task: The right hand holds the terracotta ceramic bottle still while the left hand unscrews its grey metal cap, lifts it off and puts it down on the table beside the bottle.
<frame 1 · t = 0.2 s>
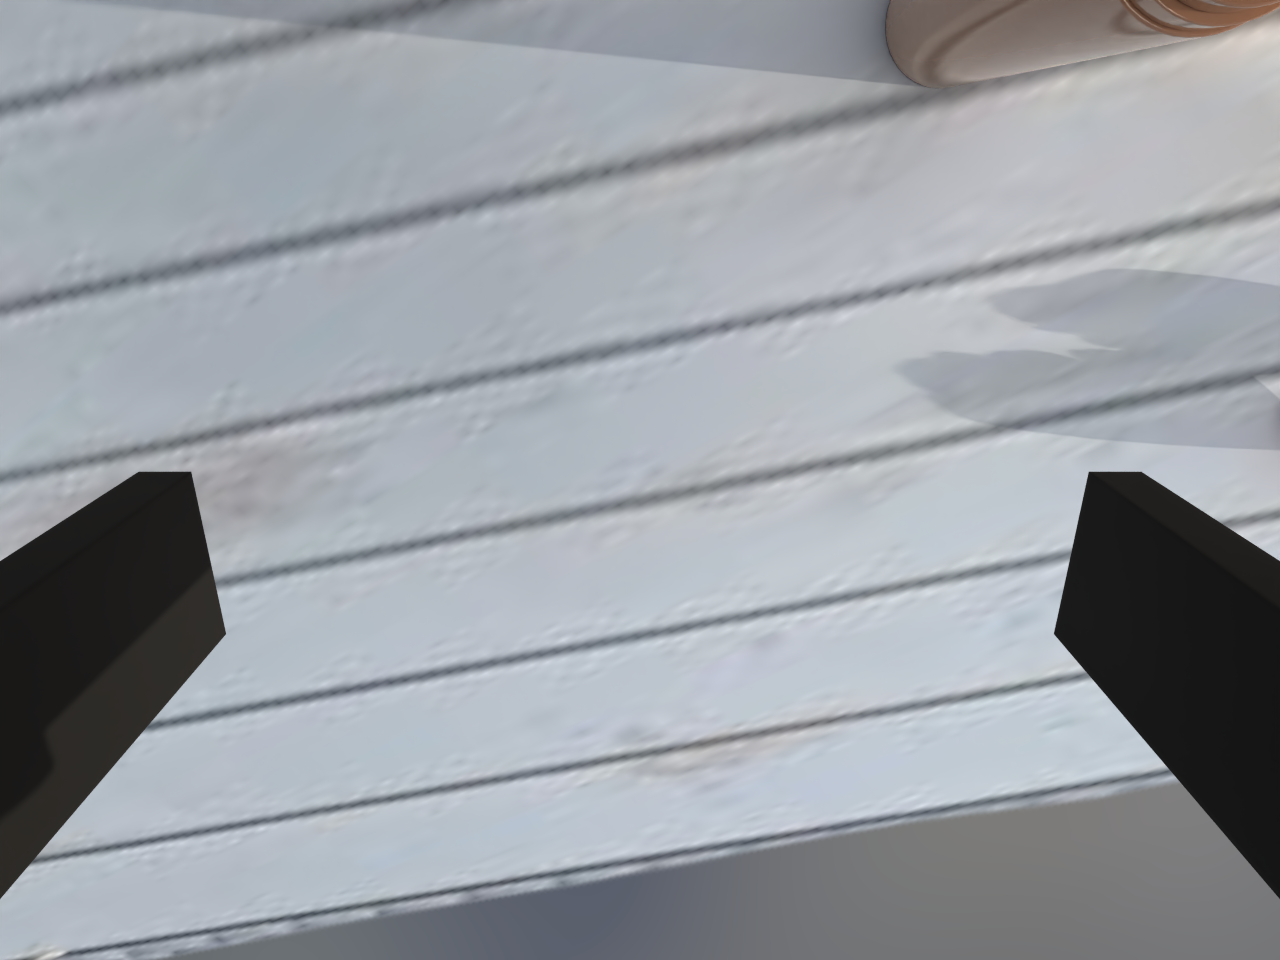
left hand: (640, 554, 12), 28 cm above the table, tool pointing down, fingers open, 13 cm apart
bottle: (947, 20, 34), on the table
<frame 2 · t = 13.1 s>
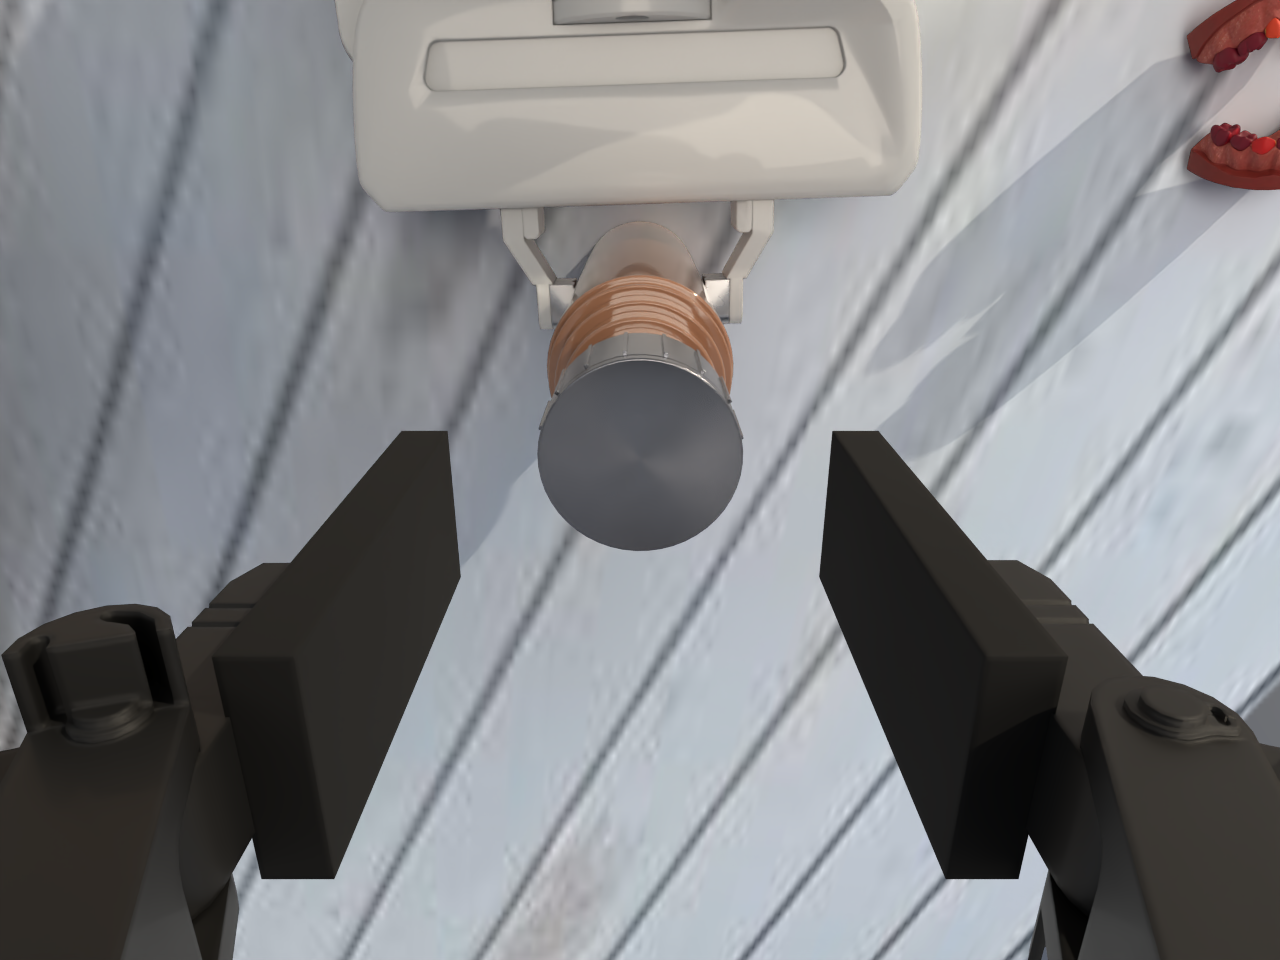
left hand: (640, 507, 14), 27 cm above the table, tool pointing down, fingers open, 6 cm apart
right hand: (641, 324, 33), fingers closed on bottle, 5 cm apart
bottle: (640, 278, 39), on the table, touching right hand
cap: (640, 454, 17), point 24 cm above the table, screwed on, not yet turned
dental model: (1248, 87, 36), on the table
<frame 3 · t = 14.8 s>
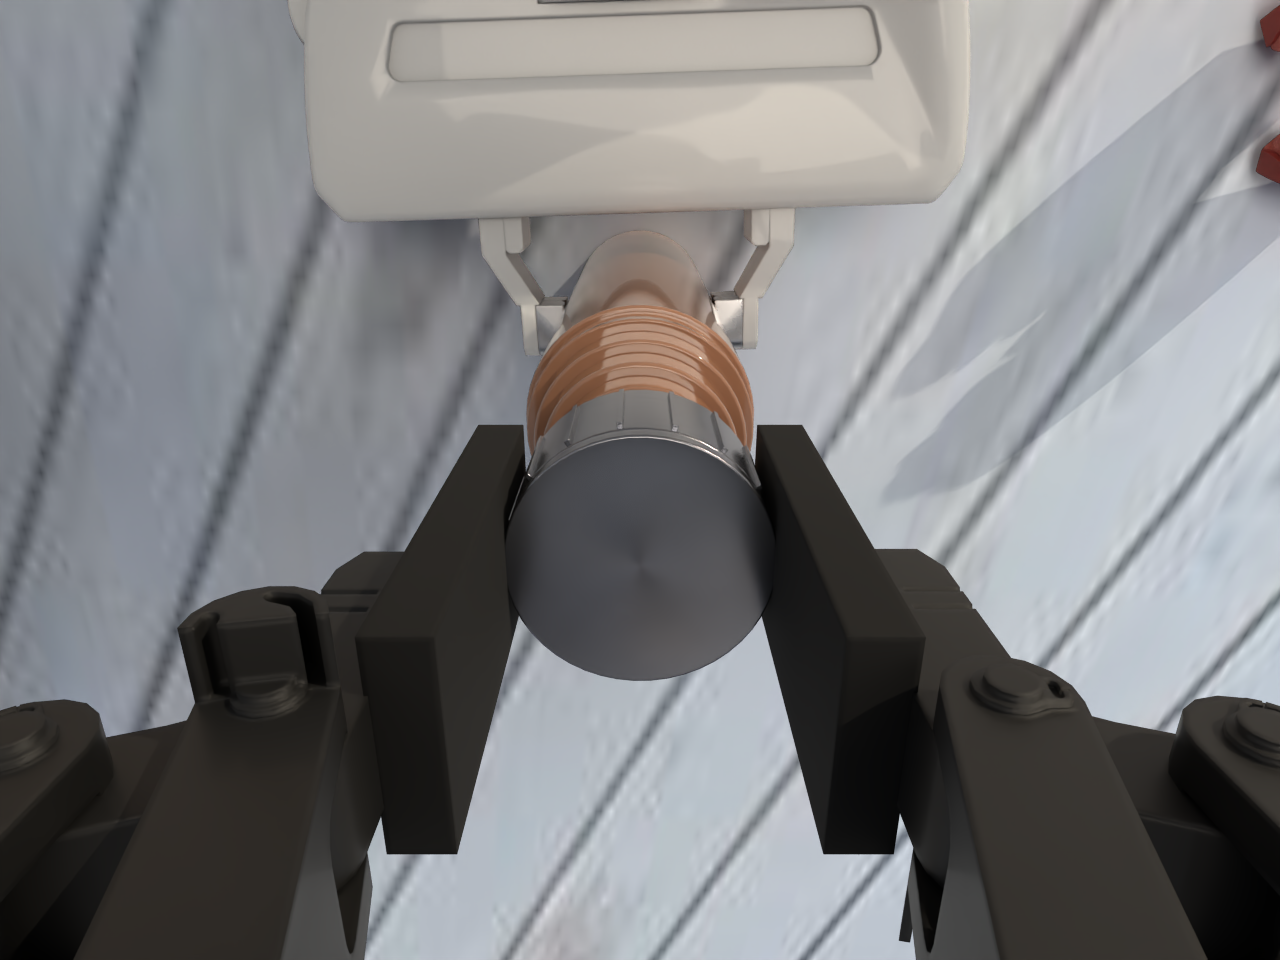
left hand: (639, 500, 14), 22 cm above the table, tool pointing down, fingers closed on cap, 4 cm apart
right hand: (642, 349, 29), fingers closed on bottle, 5 cm apart
bottle: (639, 293, 35), on the table, touching right hand
cap: (640, 556, 12), point 24 cm above the table, screwed on, not yet turned, touching left hand
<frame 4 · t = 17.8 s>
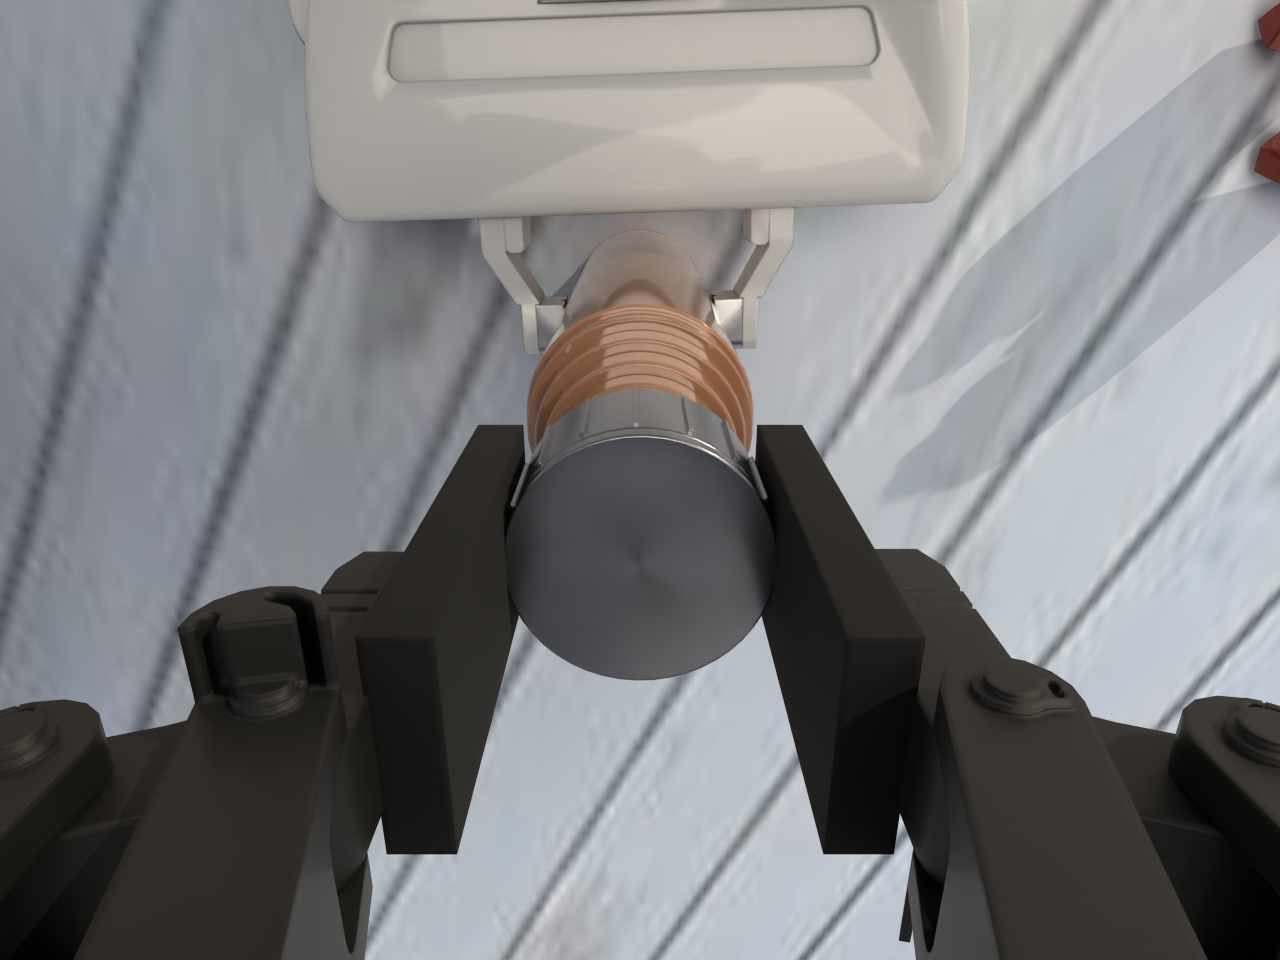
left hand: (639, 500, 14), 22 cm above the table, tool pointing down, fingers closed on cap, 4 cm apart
right hand: (642, 348, 29), fingers closed on bottle, 5 cm apart
bottle: (639, 293, 35), on the table, touching right hand
cap: (640, 556, 12), point 24 cm above the table, turned 83° so far, risen 0.1 cm, still on its thread, touching left hand
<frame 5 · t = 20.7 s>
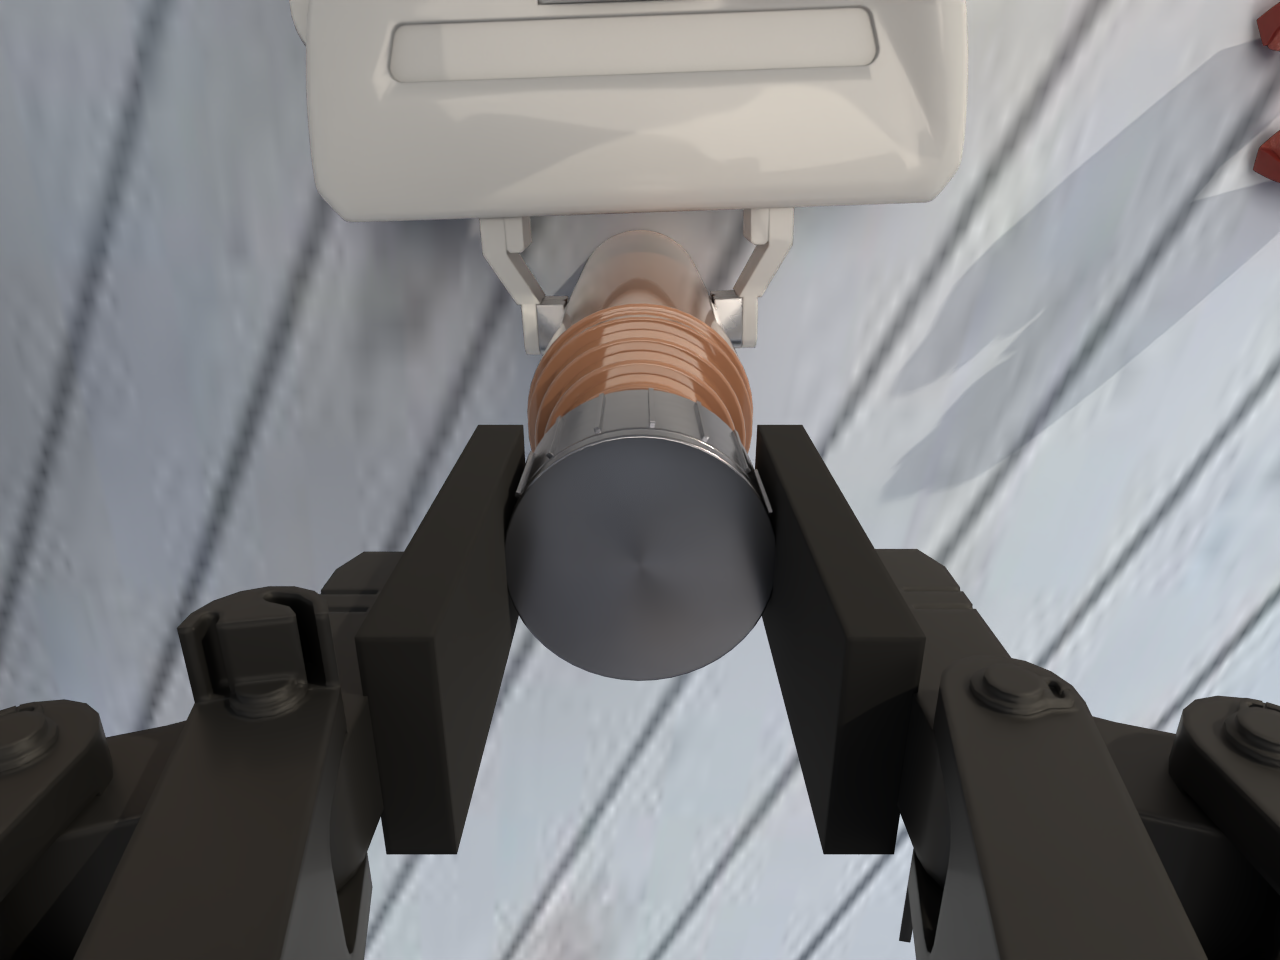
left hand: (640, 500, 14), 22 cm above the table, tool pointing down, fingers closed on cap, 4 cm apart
right hand: (642, 348, 29), fingers closed on bottle, 5 cm apart
bottle: (639, 292, 35), on the table, touching right hand
cap: (640, 556, 12), point 24 cm above the table, turned 167° so far, risen 0.2 cm, still on its thread, touching left hand
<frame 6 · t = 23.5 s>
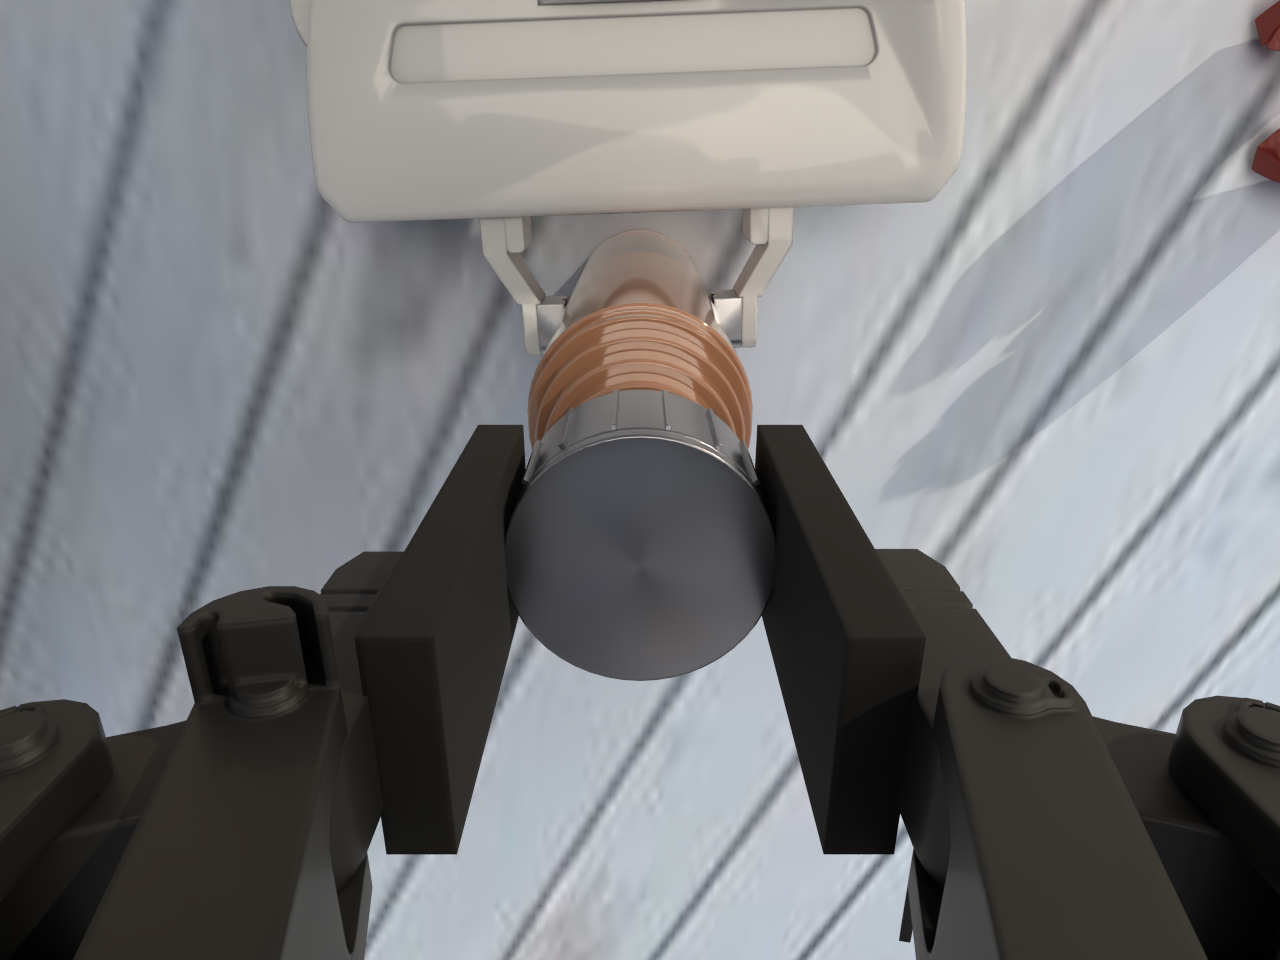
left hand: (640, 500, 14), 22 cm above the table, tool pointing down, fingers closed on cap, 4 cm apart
right hand: (642, 347, 29), fingers closed on bottle, 5 cm apart
bottle: (640, 292, 35), on the table, touching right hand
cap: (640, 556, 12), point 24 cm above the table, turned 250° so far, risen 0.3 cm, still on its thread, touching left hand
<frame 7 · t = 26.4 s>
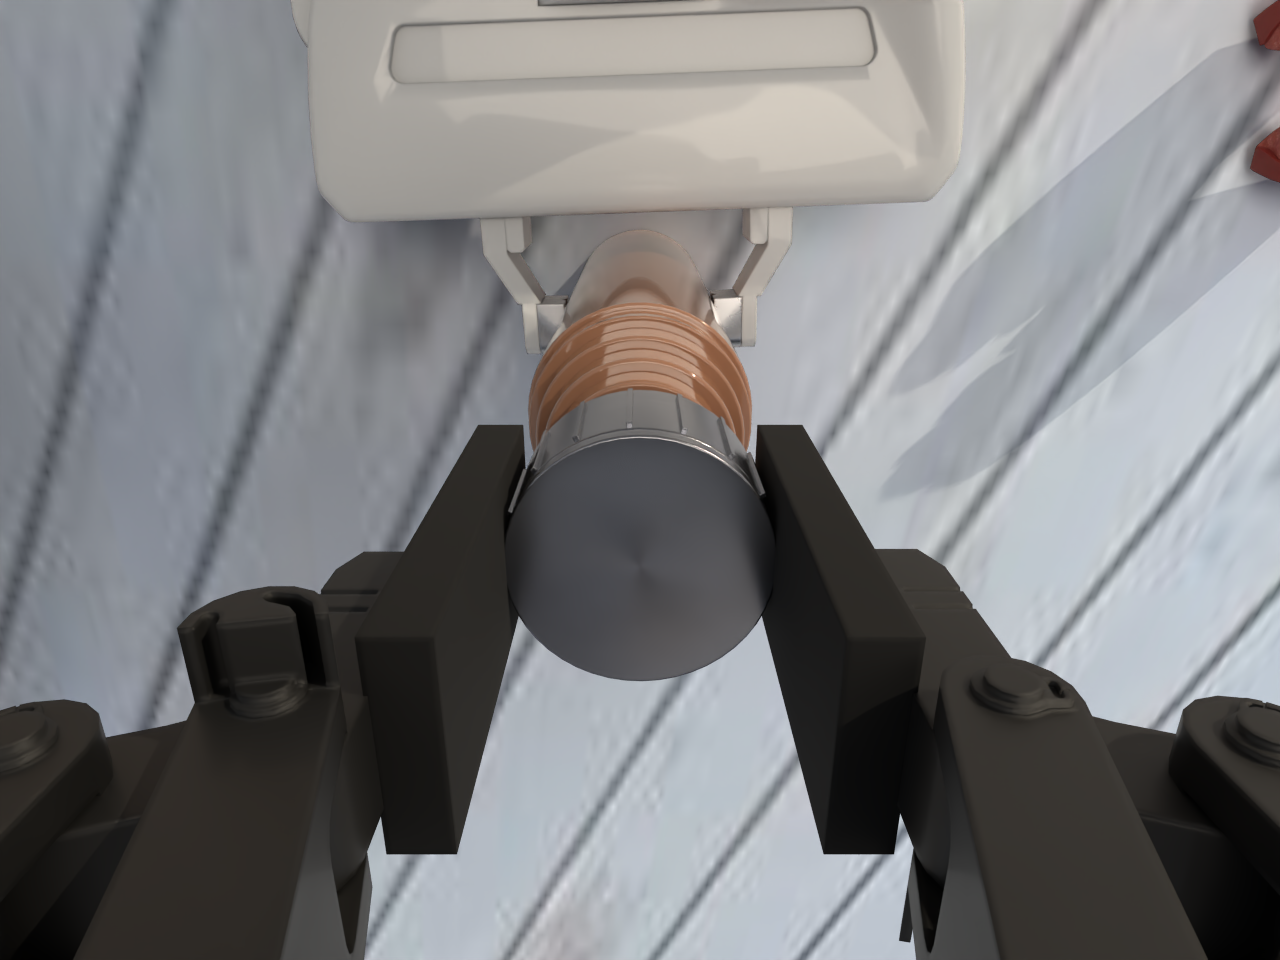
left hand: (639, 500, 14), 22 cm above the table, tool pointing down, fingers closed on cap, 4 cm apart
right hand: (642, 347, 29), fingers closed on bottle, 5 cm apart
bottle: (639, 292, 35), on the table, touching right hand
cap: (640, 557, 12), point 25 cm above the table, turned 333° so far, risen 0.3 cm, still on its thread, touching left hand
when the left hand's fingers open (1 cm above the table, at t = 34.9 s): cap drops 1 cm, point 2 cm above the table.
when the right hand's fingers open (7 cm above the table, at t = 36.3 s): bottle stays where it is, on the table.
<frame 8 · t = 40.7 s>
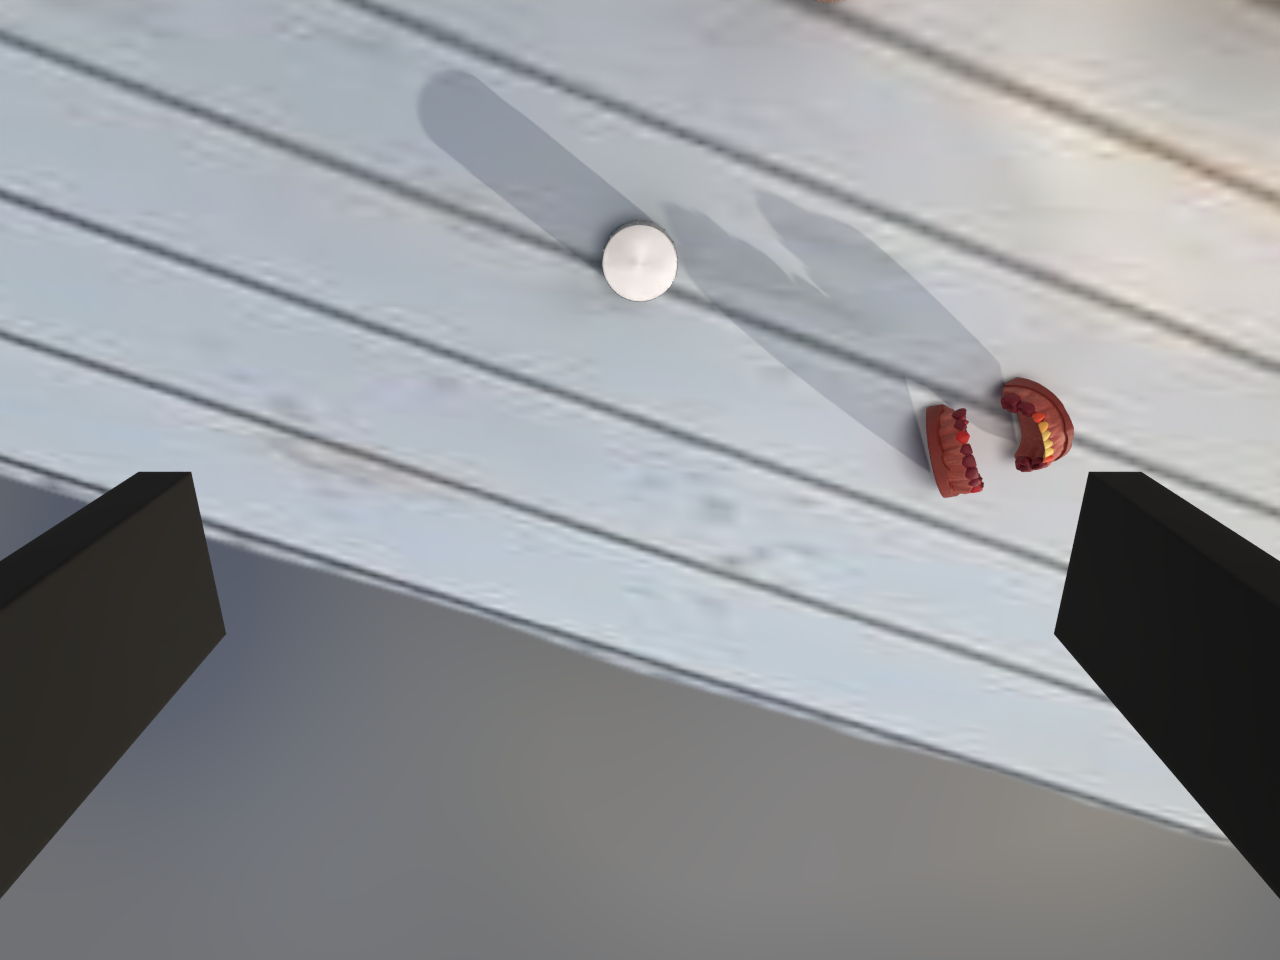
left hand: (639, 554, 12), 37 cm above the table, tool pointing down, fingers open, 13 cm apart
cap: (639, 263, 45), point 2 cm above the table, off its thread
dental model: (980, 432, 50), on the table
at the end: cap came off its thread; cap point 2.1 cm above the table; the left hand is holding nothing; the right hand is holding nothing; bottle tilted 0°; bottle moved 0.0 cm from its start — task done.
